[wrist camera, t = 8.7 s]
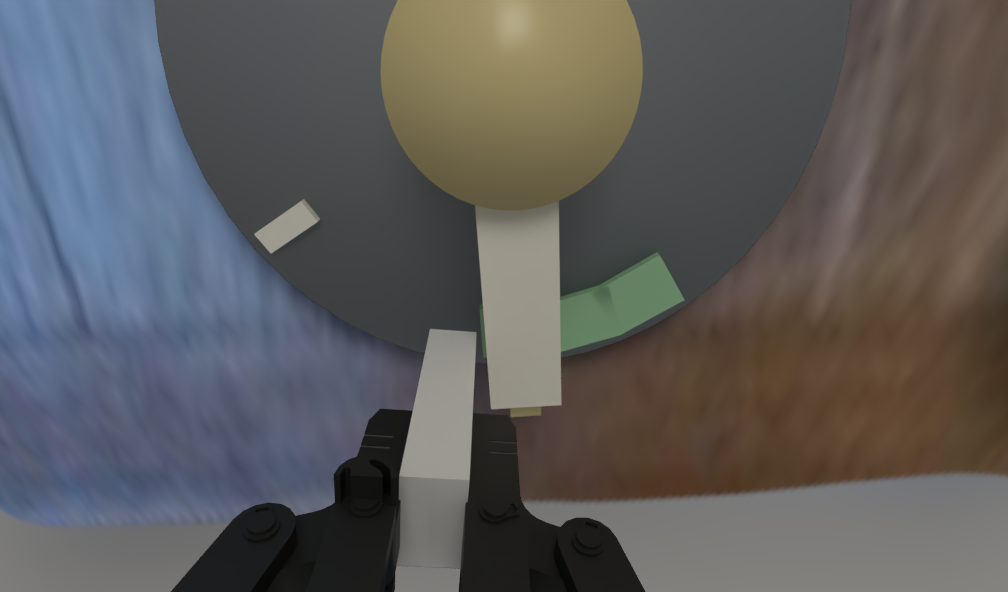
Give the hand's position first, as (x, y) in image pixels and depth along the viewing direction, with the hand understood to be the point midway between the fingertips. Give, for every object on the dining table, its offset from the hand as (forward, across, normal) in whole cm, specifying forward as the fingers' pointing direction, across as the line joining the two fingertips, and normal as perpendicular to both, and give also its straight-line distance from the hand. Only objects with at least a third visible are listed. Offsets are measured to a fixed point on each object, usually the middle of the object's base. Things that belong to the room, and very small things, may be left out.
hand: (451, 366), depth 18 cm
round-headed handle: (+2, +2, +5) cm, 6 cm away
